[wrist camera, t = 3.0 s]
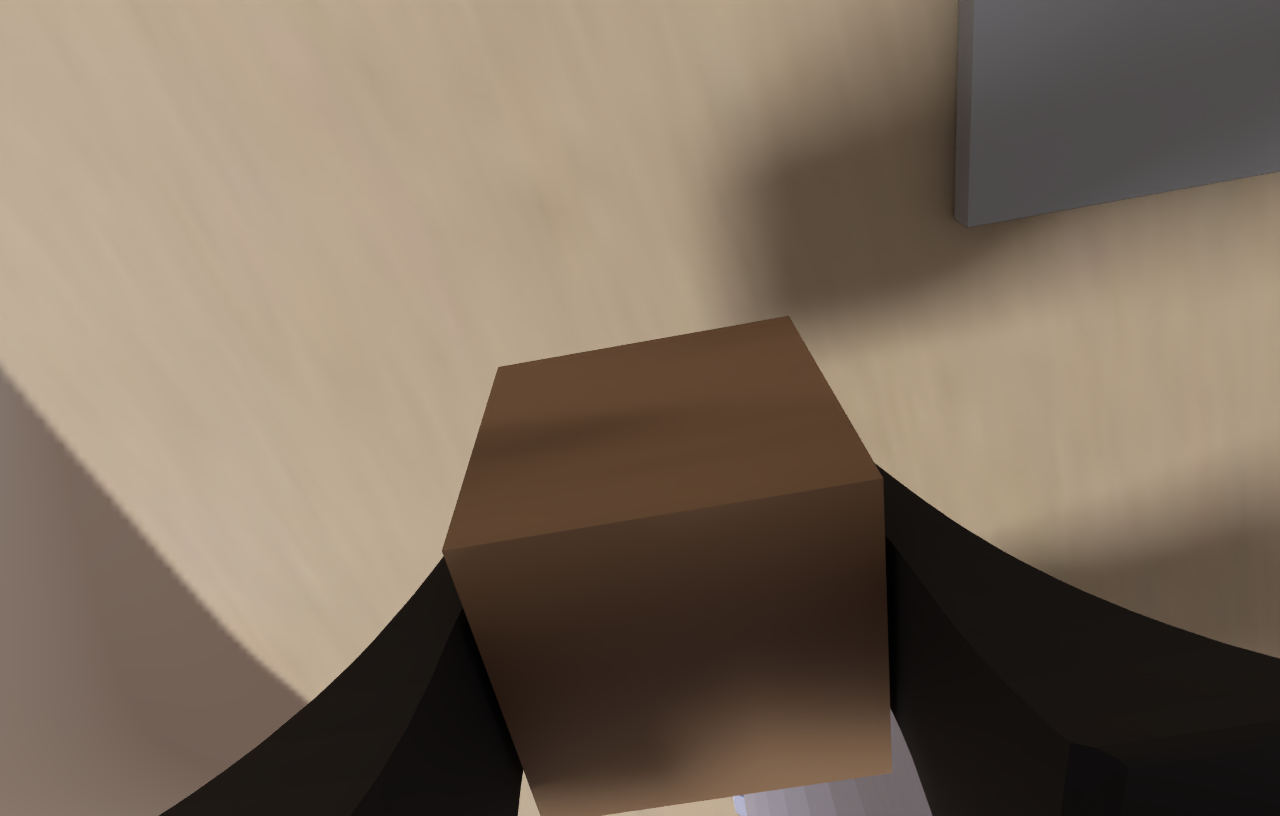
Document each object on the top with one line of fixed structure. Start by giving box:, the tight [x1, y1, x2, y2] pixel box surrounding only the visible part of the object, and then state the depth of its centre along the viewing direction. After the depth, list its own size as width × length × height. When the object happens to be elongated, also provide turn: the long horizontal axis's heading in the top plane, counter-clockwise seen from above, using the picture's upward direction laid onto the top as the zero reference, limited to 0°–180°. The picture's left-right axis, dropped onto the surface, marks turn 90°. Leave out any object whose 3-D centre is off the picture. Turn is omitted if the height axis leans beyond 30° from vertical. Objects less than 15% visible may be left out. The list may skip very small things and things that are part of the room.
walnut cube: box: [442, 316, 892, 816], centre depth 12 cm, size 5×5×5 cm
